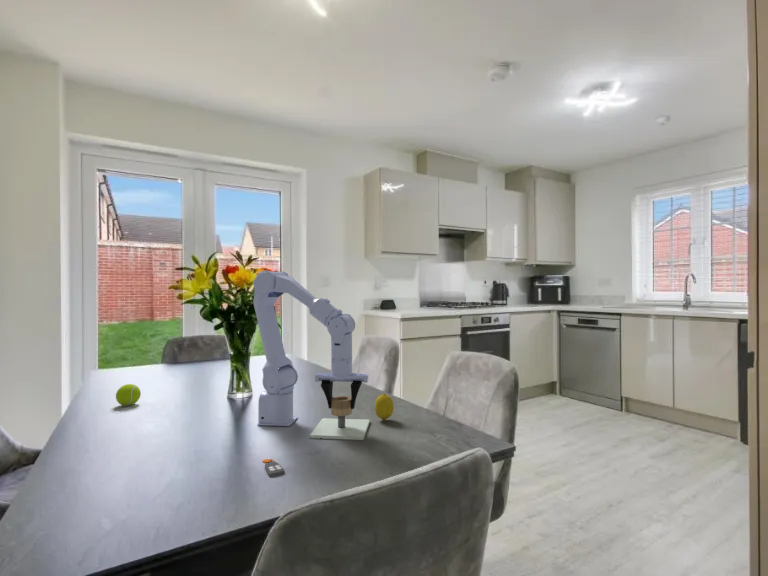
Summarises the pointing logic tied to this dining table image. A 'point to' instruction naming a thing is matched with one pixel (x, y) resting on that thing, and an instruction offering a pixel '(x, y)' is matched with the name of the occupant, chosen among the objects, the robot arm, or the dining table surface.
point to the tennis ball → (128, 395)
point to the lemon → (384, 407)
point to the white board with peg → (341, 428)
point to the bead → (341, 405)
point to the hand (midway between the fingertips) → (341, 407)
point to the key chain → (273, 468)
